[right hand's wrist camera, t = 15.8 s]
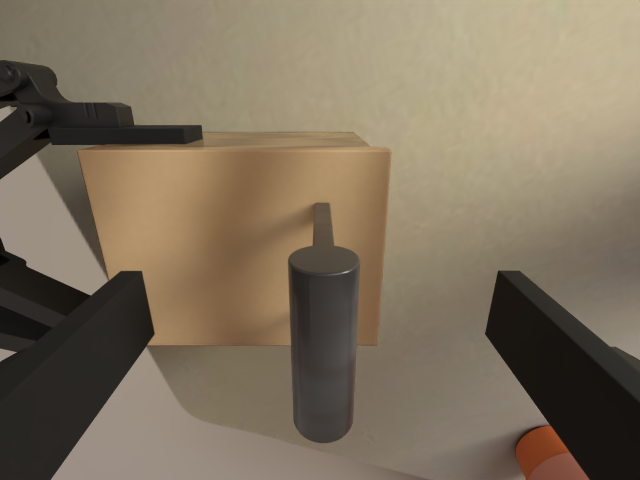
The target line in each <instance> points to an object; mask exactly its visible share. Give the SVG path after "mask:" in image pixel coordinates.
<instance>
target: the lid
mask: <svg viewBox="0 0 640 480" xmlns="http://www.w3.org/2000/svg"><path fill="white" fill-rule="evenodd" d="M77 153H78V157H79V161H80V165H81V169H82V173H83V177H84V181H85V185H86V189H87V193H88V197H89V202H90V206H91V210H92V214H93V218H94V222H95V226H96V230H97V234H98V238H99V242H100V246H101V250H102V254H103V258H104V262H105V266H106V270H107V274H108V278H109V280H110V279H112V278H113V277H114V276H115V275H116V274H118V273H119V272H120V271H142V274H143V278H144V283H145V288H146V293H147V298H148V303H149V308H150V312H151V317H152V322H153V327H154V332H155V335H154V336H153V338H152V339H151V340H150V342H149V343H148V344H147V345H291V363H292V390H293V417H294V423H295V426H296V428H297V430H298V431H299V432H300V434H301V435H303V436H304V437H305V438H307V439H308V440H311V441H314V442H318V443H329V442H334V441H336V440H339V439H340V438H342V437H343V436H344V435H346V433H347V432H348V431H349V430H350V428H351V426H352V423H353V410H354V388H355V366H356V345H377V344H378V331H379V317H380V304H381V290H382V276H383V262H384V248H385V235H386V221H387V207H388V193H389V180H390V166H391V150H390V149H388V148H386V147H91V148H86V149H81V150H78V151H77Z"/></svg>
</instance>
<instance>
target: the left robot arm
mask: <svg viewBox="0 0 640 480" xmlns="http://www.w3.org/2000/svg"><path fill="white" fill-rule="evenodd" d="M56 85H57V78H56V75H55V73H54V72H53V71H52V70H51V69H50V68H49V67H46V66H42V65H35V64H28V63H21V62H14V61H6V60H1V61H0V109H1V108H4V107H7V106H9V105H10V106H11V107H17V109H16V110H15V111H14V112H13V113H11V114H10V115H9V116H7V117H6V118H5V119H4V120H2V121H1V122H0V179H1V178H3V177H4V176H5V175H7V174H8V173H10V172H11V171H12V170H14V169H15V168H16V167H18V166H19V165H21V164H22V163H23V162H25V161H26V160H27V159H29V158H30V157H31V156H33V155H34V154H36V153H37V152H38V151H40V150H41V149H42V148H44V147H45V146H46V145H48V144H49V143H52V145H106V144H188V143H191V142H195V141H198V140H201V139H203V134H202V126H201V125H134V121H133V115H132V110H131V107H130V106H128V105H125V104H123V103H74V102H70V101H68V100H66V99H65V98H64V97H63V96H62V95H61V94H60V92H59V91H58V89H57V88H56ZM18 102H19V103H18ZM89 297H90V295H88V294H86V293H84V292H81V291H79V290H77V289H75V288H72V287H70V286H68V285H66V284H64V283H62V282H59V281H57V280H55V279H53V278H50V277H48V276H46V275H44V274H42V273H39V272H37V271H35V270H33V269H31V268H28V267H27V266H26V261H25V260H24V259H22V258H20V257H18V256H16V255H13V254H11V253H9V252H7V251H5V249H4V246H3V243H2V240H1V238H0V348H1V349H5V350H10V351H14V352H19V351H21V350H22V349H24V348H29V347H30V346H32V345H33V344H34V343H35V342H36V341H38V340H39V339H40V338H41V337H42V336H44V335H45V334H46V333H47V332H48V331H50V330H51V329H52V328H53V327H54V326H56V325H57V324H58V323H59V322H60V321H61V320H63V319H64V318H65V317H66V316H67V315H69V314H70V313H71V312H72V311H73V310H75V309H76V308H77V307H78V306H79V305H81V304H82V303H83V302H84V301H85V300H87V299H88V298H89Z"/></svg>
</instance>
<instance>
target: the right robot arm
mask: <svg viewBox="0 0 640 480" xmlns="http://www.w3.org/2000/svg"><path fill="white" fill-rule="evenodd" d="M154 335H155V332H154V327H153V322H152V317H151V312H150V308H149V303H148V298H147V293H146V288H145V283H144V278H143V274H142V271H120V272H119V273H118V274H116V275H115V276H114V277H113V278H112V279H110V280H109V281H108V282H107V283H106V284H104V285H103V286H102V287H101V288H100V289H98V290H97V291H96V292H95V293H94V294H93V295H91V296H90V297H89V298H88V299H87V300H85V301H84V302H83V303H82V304H81V305H79V306H78V307H77V308H76V309H75V310H73V311H72V312H71V313H70V314H69V315H67V316H66V317H65V318H64V319H63V320H61V321H60V322H59V323H58V324H57V325H56V326H54V327H53V328H52V329H51V330H50V331H48V332H47V333H46V334H45V335H44V336H42V337H41V338H40V339H39V340H38V341H36V342H35V343H34V344H33V345H32V346H30V347H29V348H24V349H22V350H21V351H19V352H17V353H15V354H13V355H12V356H10V357H8V358H6V359H4V360H2V361H1V362H0V480H51V478H52V477H53V475H54V474H55V473H56V471H57V470H58V469H59V467H60V466H61V464H62V463H63V462H64V460H65V459H66V457H67V456H68V455H69V453H70V452H71V451H72V449H73V448H74V446H75V445H76V444H77V442H78V441H79V439H80V438H81V437H82V435H83V434H84V432H85V431H86V430H87V428H88V427H89V425H90V424H91V423H92V421H93V420H94V418H95V417H96V416H97V414H98V413H99V411H100V410H101V409H102V407H103V406H104V404H105V403H106V402H107V400H108V399H109V397H110V396H111V395H112V393H113V392H114V390H115V389H116V388H117V386H118V385H119V384H120V382H121V381H122V379H123V378H124V377H125V375H126V374H127V372H128V371H129V370H130V368H131V367H132V365H133V364H134V363H135V361H136V360H137V358H138V357H139V356H140V354H141V353H142V351H143V350H144V349H145V347H146V346H147V344H148V343H149V342H150V340H151V339H152V338H153V336H154ZM485 335H486V336H487V337H488V339H489V340H490V342H491V343H492V344H493V346H494V347H495V349H496V350H497V351H498V353H499V354H500V356H501V357H502V358H503V360H504V361H505V363H506V364H507V365H508V367H509V368H510V370H511V371H512V372H513V374H514V375H515V377H516V378H517V379H518V381H519V382H520V384H521V385H522V386H523V388H524V389H525V391H526V392H527V393H528V395H529V396H530V397H531V399H532V400H533V402H534V403H535V404H536V406H537V407H538V409H539V410H540V411H541V413H542V414H543V416H544V417H545V418H546V420H547V421H548V423H549V424H550V425H551V427H552V428H553V430H554V431H555V432H556V434H557V435H558V437H559V438H560V439H561V441H562V442H563V444H564V445H565V446H566V448H567V449H568V450H569V452H570V453H571V455H572V456H573V457H574V459H575V460H576V462H577V463H578V464H579V466H580V467H581V469H582V470H583V471H584V473H585V474H586V476H587V477H588V478H589V480H640V360H639V359H637V358H635V357H633V356H631V355H629V354H628V353H626V352H624V351H622V350H620V349H618V348H617V347H610V346H608V345H607V344H606V343H605V342H604V341H602V340H601V339H600V338H599V337H598V336H596V335H595V334H594V333H593V332H592V331H590V330H589V329H588V328H587V327H586V326H585V325H583V324H582V323H581V322H580V321H579V320H577V319H576V318H575V317H574V316H573V315H571V314H570V313H569V312H568V311H567V310H565V309H564V308H563V307H562V306H561V305H559V304H558V303H557V302H556V301H555V300H553V299H552V298H551V297H550V296H549V295H548V294H546V293H545V292H544V291H543V290H542V289H540V288H539V287H538V286H537V285H536V284H534V283H533V282H532V281H531V280H530V279H528V278H527V277H526V276H525V275H524V274H522V273H521V272H520V271H498V274H497V279H496V283H495V288H494V293H493V298H492V303H491V308H490V312H489V317H488V322H487V327H486V332H485Z"/></svg>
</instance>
